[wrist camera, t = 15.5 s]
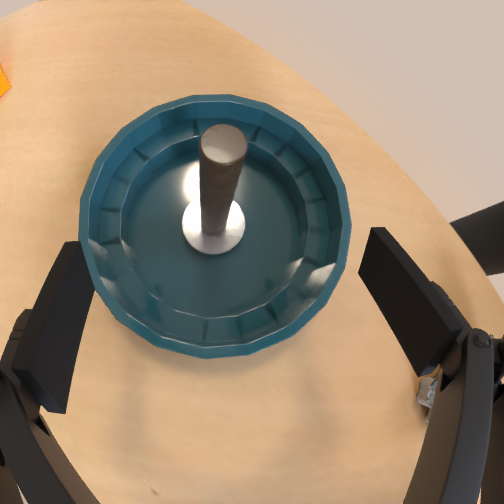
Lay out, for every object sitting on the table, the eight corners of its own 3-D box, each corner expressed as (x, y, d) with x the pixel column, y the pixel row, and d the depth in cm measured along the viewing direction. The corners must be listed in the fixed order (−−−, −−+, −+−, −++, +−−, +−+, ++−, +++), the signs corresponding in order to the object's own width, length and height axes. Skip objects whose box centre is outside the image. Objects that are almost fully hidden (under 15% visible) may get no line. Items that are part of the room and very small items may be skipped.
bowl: (363, 245, 28) (395, 232, 23) (200, 393, 24) (199, 414, 18) (229, 97, 29) (235, 61, 24) (64, 215, 25) (37, 195, 19)
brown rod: (255, 231, 26) (308, 155, 13) (208, 270, 25) (213, 226, 11) (217, 187, 26) (232, 79, 13) (170, 223, 25) (138, 136, 12)
